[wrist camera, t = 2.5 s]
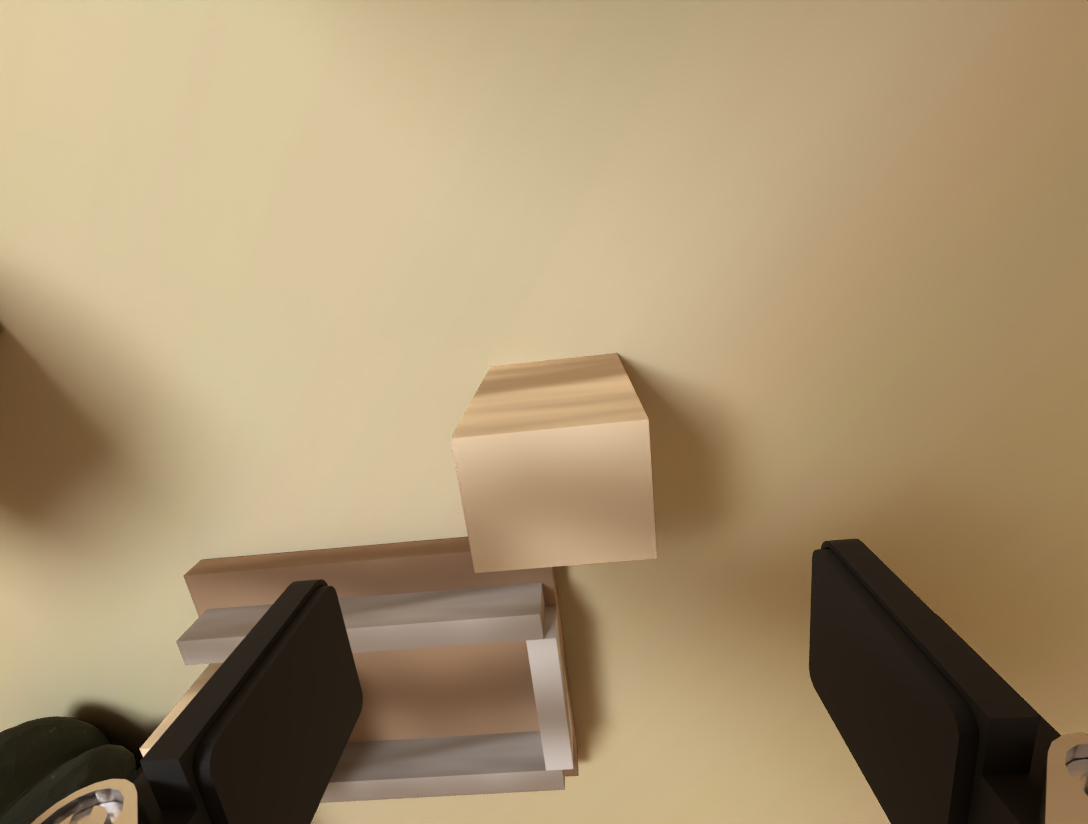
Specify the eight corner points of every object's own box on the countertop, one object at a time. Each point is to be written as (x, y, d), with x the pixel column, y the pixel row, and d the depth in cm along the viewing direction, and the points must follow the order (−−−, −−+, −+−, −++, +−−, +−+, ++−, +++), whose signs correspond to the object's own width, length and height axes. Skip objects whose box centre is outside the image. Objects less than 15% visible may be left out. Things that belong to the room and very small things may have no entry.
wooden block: (490, 366, 21) (450, 438, 13) (616, 353, 21) (648, 419, 13) (505, 467, 22) (476, 585, 15) (624, 456, 22) (657, 571, 14)
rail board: (201, 559, 24) (85, 662, 18) (549, 529, 23) (544, 628, 17) (277, 770, 28) (202, 910, 22) (577, 753, 27) (582, 895, 21)
